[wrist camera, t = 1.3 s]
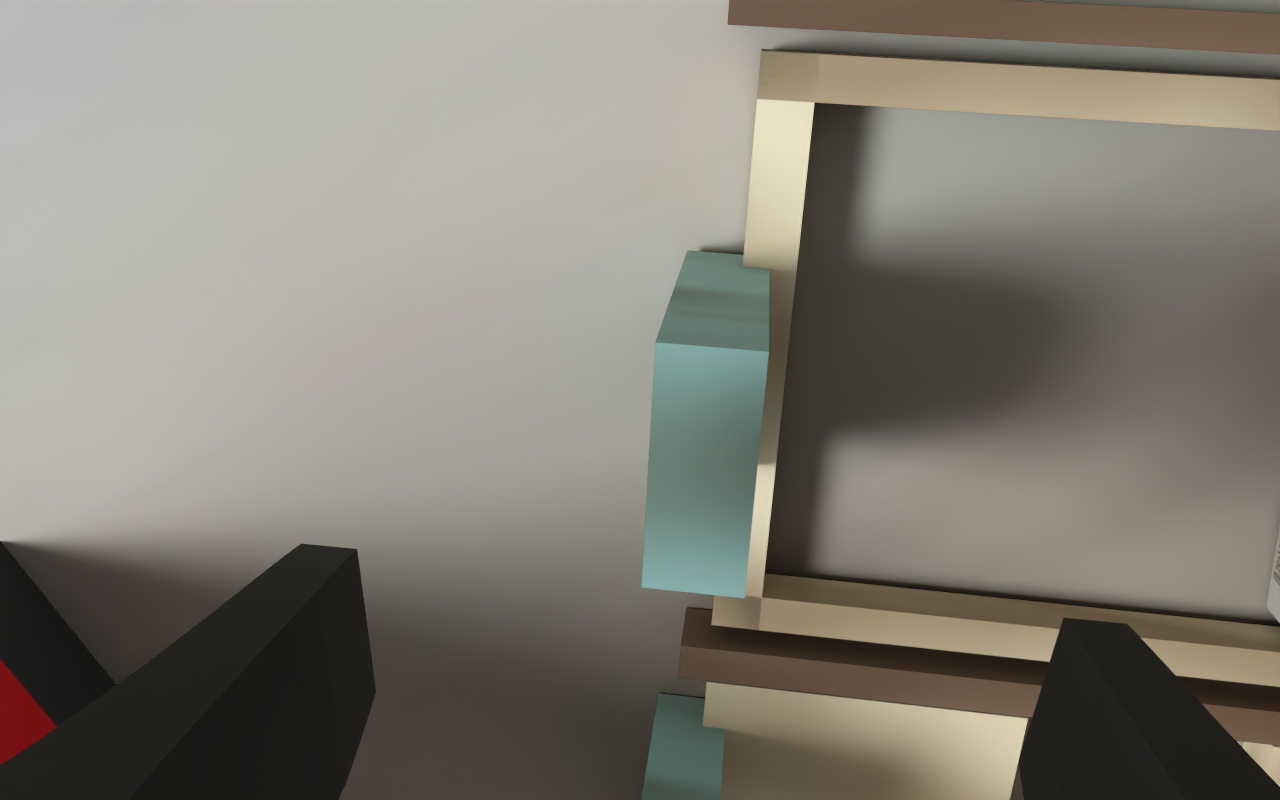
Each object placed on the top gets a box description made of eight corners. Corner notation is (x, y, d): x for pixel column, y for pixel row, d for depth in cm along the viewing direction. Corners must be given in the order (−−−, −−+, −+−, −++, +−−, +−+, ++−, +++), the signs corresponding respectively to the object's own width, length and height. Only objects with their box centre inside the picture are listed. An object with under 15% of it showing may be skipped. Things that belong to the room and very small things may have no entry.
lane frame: (1598, 1008, 24) (1846, 1308, 18) (645, 881, 26) (612, 1117, 21) (2107, 57, 16) (2791, 81, 11) (705, -14, 19) (677, -25, 13)
